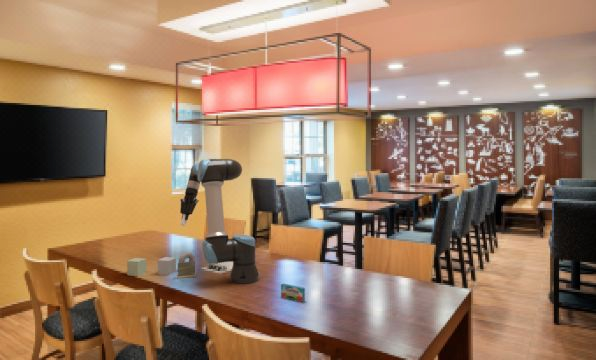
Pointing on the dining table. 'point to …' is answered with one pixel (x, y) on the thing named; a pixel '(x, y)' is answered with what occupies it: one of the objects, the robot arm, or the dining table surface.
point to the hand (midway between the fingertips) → (183, 225)
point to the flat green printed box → (293, 292)
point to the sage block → (136, 267)
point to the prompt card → (186, 270)
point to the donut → (186, 255)
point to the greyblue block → (166, 266)
